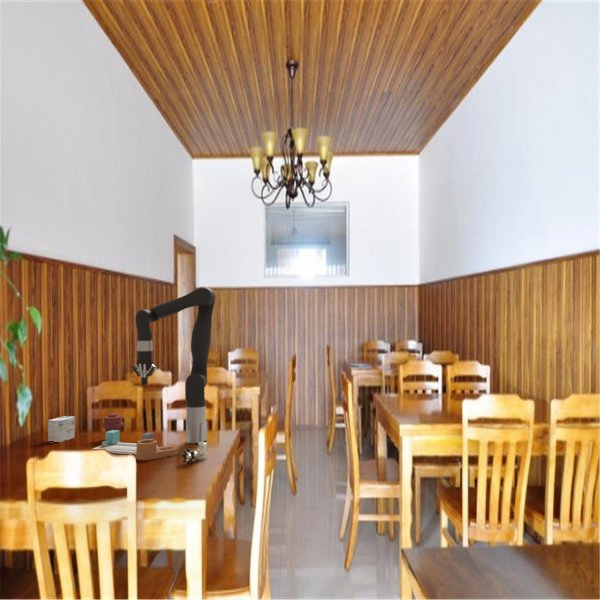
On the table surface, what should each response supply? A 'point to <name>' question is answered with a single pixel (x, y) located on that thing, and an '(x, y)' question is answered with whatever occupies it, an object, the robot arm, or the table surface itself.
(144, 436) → the fixed leg
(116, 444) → the gauge board
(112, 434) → the sliding leg
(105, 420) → the mechanical component
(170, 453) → the bracket
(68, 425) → the light bulb box
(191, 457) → the valve
